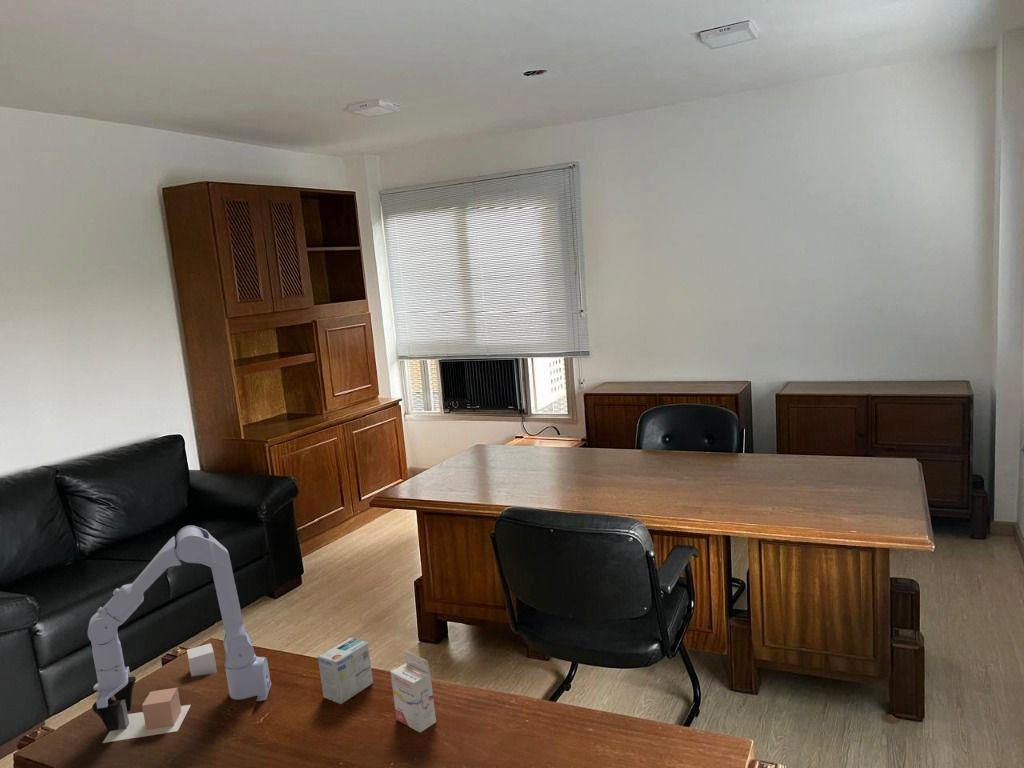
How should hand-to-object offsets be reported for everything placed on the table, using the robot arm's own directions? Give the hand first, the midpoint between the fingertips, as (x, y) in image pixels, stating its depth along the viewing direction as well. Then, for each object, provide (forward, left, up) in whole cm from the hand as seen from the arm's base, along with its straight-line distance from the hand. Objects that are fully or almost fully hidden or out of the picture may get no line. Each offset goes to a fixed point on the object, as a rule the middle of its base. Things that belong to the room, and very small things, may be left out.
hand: (119, 720), depth 177 cm
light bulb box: (-51, -3, -3) cm, 51 cm away
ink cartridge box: (-67, +15, -3) cm, 69 cm away
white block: (-12, -24, -3) cm, 27 cm away
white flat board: (-6, 0, -3) cm, 7 cm away
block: (-9, 0, -2) cm, 10 cm away
